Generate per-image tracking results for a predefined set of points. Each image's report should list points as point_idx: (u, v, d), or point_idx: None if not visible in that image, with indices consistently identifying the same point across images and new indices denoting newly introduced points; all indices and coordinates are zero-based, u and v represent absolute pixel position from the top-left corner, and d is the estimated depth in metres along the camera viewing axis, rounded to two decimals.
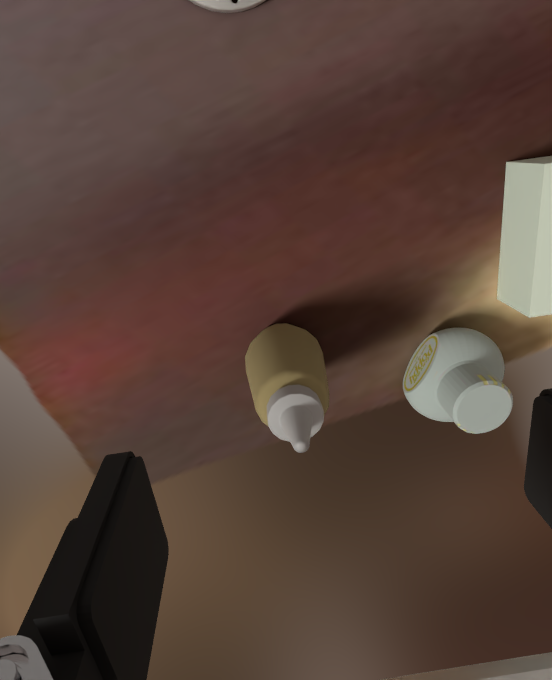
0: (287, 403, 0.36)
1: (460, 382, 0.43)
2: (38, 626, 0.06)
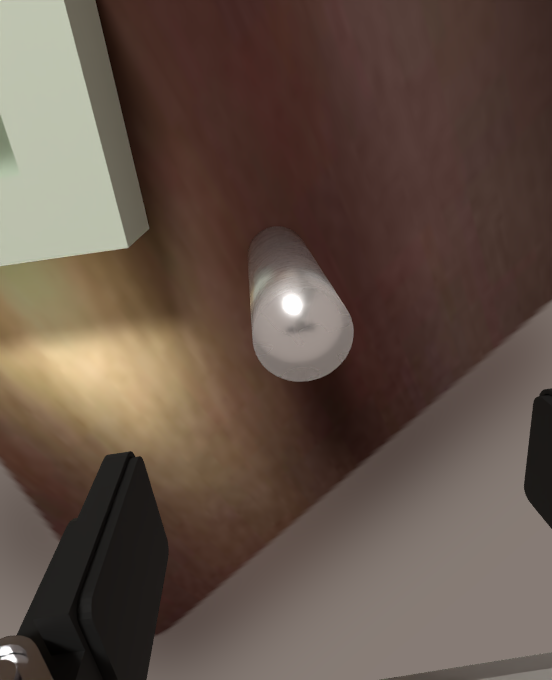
0: None
1: None
2: (38, 626, 0.06)
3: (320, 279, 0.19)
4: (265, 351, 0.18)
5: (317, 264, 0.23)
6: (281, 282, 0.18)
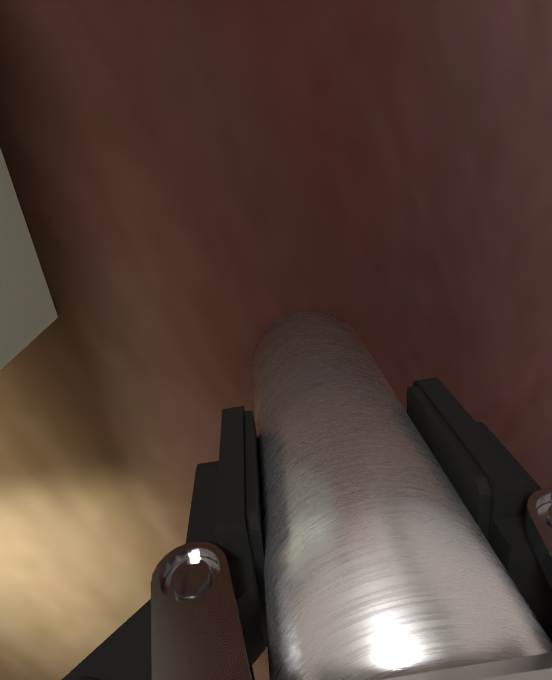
0: None
1: None
2: (218, 533, 0.08)
3: None
4: None
5: (443, 473, 0.09)
6: None
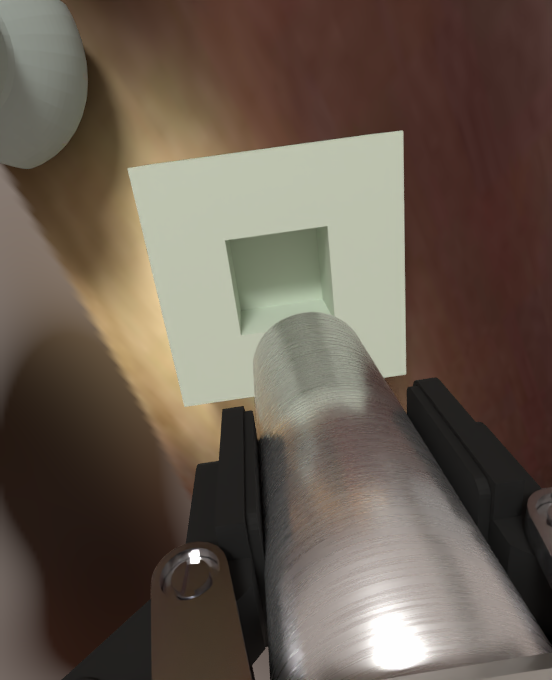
0: None
1: None
2: (218, 533, 0.08)
3: None
4: None
5: (443, 475, 0.09)
6: None
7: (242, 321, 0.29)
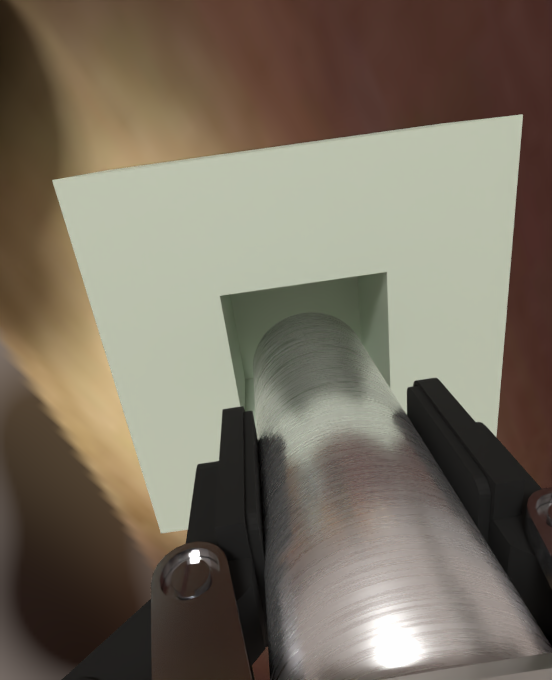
0: None
1: None
2: (218, 533, 0.08)
3: None
4: None
5: (443, 476, 0.09)
6: None
7: (247, 403, 0.19)
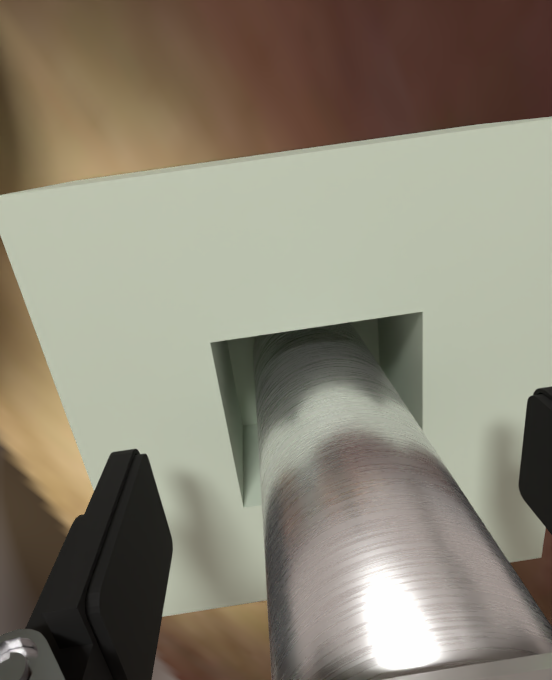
0: None
1: None
2: (47, 619, 0.06)
3: (530, 632, 0.05)
4: None
5: (427, 439, 0.09)
6: None
7: (245, 460, 0.16)
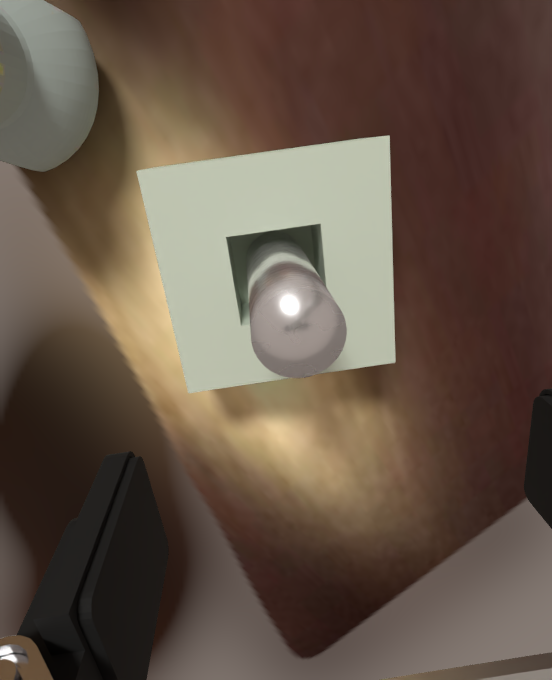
0: None
1: None
2: (38, 626, 0.06)
3: (315, 280, 0.20)
4: (263, 349, 0.19)
5: (313, 267, 0.24)
6: (278, 283, 0.19)
7: (242, 313, 0.31)
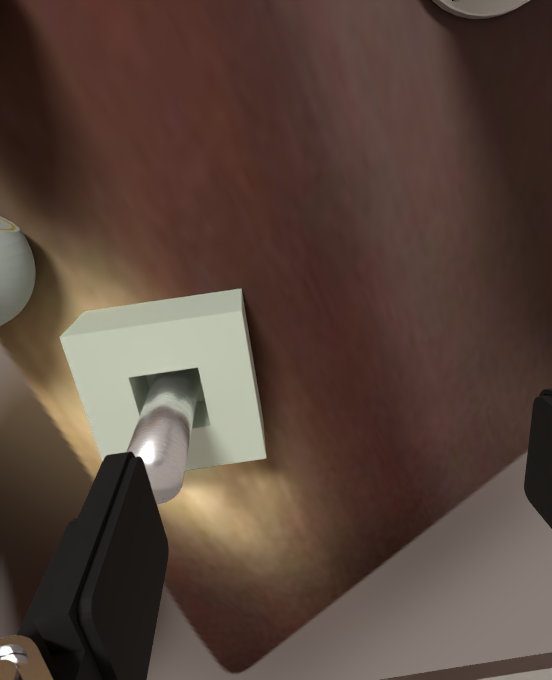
0: None
1: None
2: (38, 626, 0.06)
3: (167, 438, 0.30)
4: None
5: (184, 408, 0.34)
6: (138, 443, 0.29)
7: None
